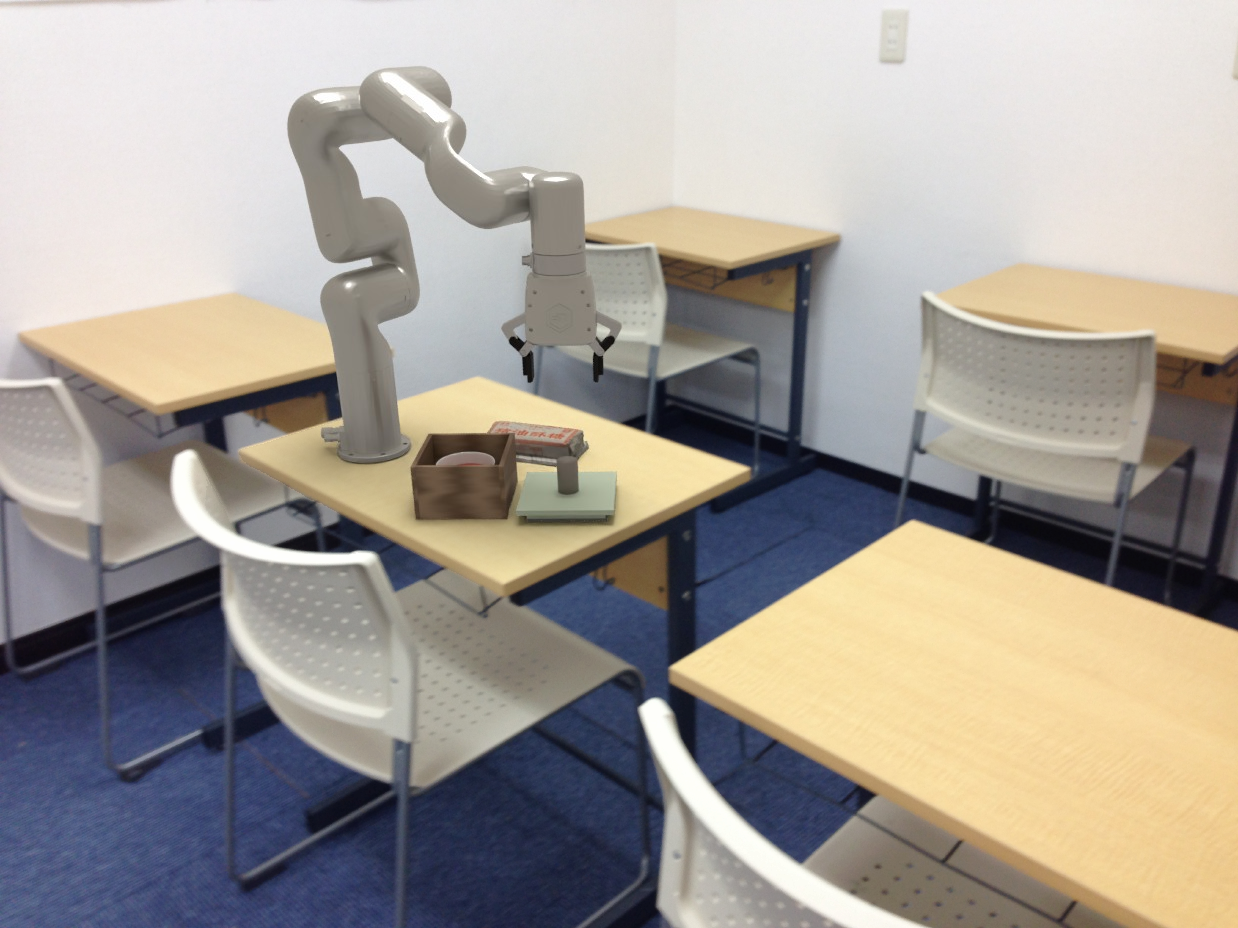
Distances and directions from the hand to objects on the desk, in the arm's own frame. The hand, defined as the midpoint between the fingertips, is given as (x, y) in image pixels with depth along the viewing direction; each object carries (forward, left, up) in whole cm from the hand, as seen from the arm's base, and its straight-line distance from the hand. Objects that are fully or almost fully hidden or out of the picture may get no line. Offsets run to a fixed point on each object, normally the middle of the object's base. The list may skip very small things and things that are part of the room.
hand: (563, 379), depth 153 cm
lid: (0, 0, -20) cm, 20 cm away
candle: (-16, +2, -20) cm, 26 cm away
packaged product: (-8, +22, -21) cm, 31 cm away
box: (-16, +2, -20) cm, 26 cm away
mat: (0, 0, -20) cm, 20 cm away
